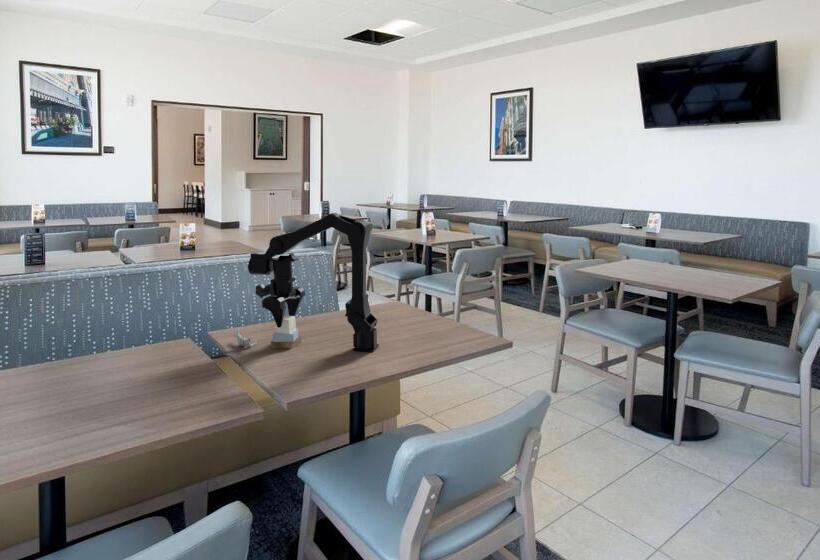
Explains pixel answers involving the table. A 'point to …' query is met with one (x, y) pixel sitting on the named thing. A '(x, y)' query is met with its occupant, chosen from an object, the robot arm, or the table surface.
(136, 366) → the table surface
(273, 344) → the tower base
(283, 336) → the tower mid
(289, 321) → the cube
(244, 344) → the soldier figure
